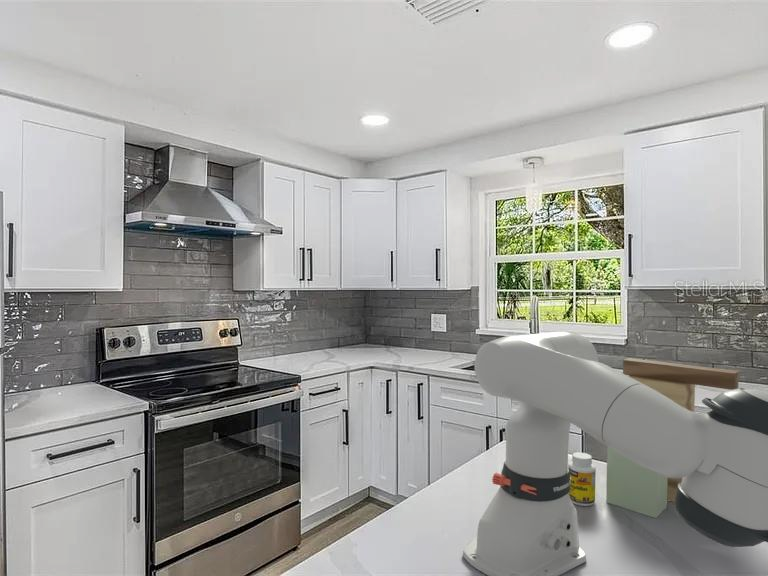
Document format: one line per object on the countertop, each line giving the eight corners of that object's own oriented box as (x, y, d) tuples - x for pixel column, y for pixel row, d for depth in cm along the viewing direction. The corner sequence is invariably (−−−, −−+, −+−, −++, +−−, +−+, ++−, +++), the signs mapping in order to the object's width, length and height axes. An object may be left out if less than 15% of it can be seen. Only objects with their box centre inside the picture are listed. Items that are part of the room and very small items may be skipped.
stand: (682, 504, 107) (684, 385, 107) (624, 487, 116) (626, 376, 115) (692, 493, 113) (694, 379, 112) (636, 477, 122) (638, 371, 121)
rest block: (656, 518, 102) (657, 426, 101) (606, 502, 109) (607, 416, 108) (666, 506, 106) (668, 419, 106) (618, 492, 114) (619, 409, 113)
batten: (734, 390, 102) (735, 373, 102) (622, 374, 118) (623, 359, 118) (738, 387, 105) (738, 371, 104) (628, 372, 120) (628, 357, 120)
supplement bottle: (563, 501, 109) (564, 455, 109) (573, 493, 113) (574, 448, 113) (589, 510, 105) (590, 462, 105) (599, 501, 109) (599, 455, 109)
